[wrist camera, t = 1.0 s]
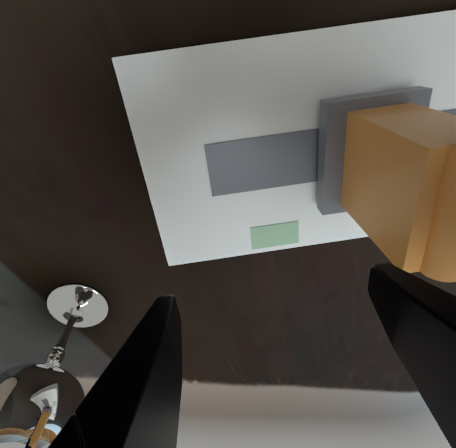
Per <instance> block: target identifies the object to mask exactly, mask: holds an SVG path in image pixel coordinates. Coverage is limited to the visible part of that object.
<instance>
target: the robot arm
mask: <svg viewBox="0 0 456 448" xmlns="http://www.w3.org/2000/svg"><path fill="white" fill-rule="evenodd" d="M368 292H369V296H370V298H371V300H372V302H373V305H374V307H375V309H376V311H377V314H378V316H379V318H380V320H381V322H382V325H383V327H384V329H385V331H386V334H387V336H388V338H389V340H390V342H391V344H392V346H393V348H394V350H395V352H396V353H397V355H398V357H399V359H400V360H401V362H402V364H403V365H404V367H405V369H406V371H407V372H408V374H409V376H410V377H411V379H412V381H413V383H414V384H415V386H416V388H417V389H418V391H419V393H420V394H421V396H422V398H423V400H424V401H425V403H426V405H427V406H428V408H429V410H430V411H431V413H432V415H433V417H434V418H435V420H436V422H437V423H438V425H439V427H440V429H441V430H442V432H443V433H444V435H445V437H446V439H447V440H448V442H449V444H450V446H451V447H452V448H456V296H455V295H453V294H451V293H449V292H447V291H445V290H443V289H441V288H439V287H437V286H435V285H433V284H431V283H428V282H426V281H424V280H422V279H420V278H418V277H416V276H414V275H412V274H410V273H408V272H406V271H404V270H402V269H400V268H398V267H396V266H394V265H392V264H390V263H380V264H374V265H373V266H372V267H371V270H370V277H369V284H368ZM181 389H182V339H181V318H180V314H179V310H178V307H177V303H176V299H175V297H174V296H173V295H165V296H160V297H158V298H157V299H156V301H155V302H154V303H153V305H152V306H151V307H150V309H149V310H148V311H147V313H146V314H145V316H144V317H143V318H142V320H141V321H140V322H139V324H138V325H137V327H136V328H135V329H134V331H133V332H132V333H131V335H130V336H129V338H128V339H127V340H126V342H125V343H124V344H123V346H122V347H121V349H120V350H119V351H118V353H117V354H116V355H115V357H114V358H113V359H112V361H111V362H110V364H109V365H108V366H107V368H106V369H105V370H104V372H103V373H102V375H101V376H100V377H99V379H98V380H97V381H96V383H95V384H94V386H93V387H92V388H91V390H90V391H89V393H88V394H87V395H86V396H85V398H84V399H83V401H82V402H81V403H80V405H79V406H78V407H77V409H76V410H75V412H74V415H72V416H71V417H70V418H69V420H68V421H67V422H66V424H65V425H64V426H63V428H62V429H61V431H60V432H59V433H58V435H57V436H56V437H55V439H54V440H53V441H52V442H51V444H50V445H49V446H48V448H176V444H177V433H178V422H179V421H178V420H179V411H180V400H181Z"/></svg>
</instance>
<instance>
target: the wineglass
mask: <svg viewBox="0 0 456 448" xmlns="http://www.w3.org/2000/svg"><path fill="white" fill-rule="evenodd" d="M47 308H48V310H49V312H50V314H51V315H52V316H53V317H54V318H55V319H56V320H58V321H59V322H61V323H63V324H66V326H65V329H64V331H63V333H62V335H61V337H60V339H59V341H58V342H57V344H56V345H55V346H54V348H53V349H52V350H51V351H50V352H49V353H48V355H47V356H46V359H45V364H44V363H30V364H23V365H19V366H15V367H12V368H10V369H8V370H5V371H4V372H2V373H0V448H48V446H49V445H50V444H51V442H52V441H53V440H54V439H55V437H56V436H57V435H58V433H59V432H60V431H61V429H62V428H63V426H64V425H65V424H66V422H67V421H68V420H69V418H70V417H71V416H72V415H74V412H75V410H76V409H77V407H78V406H79V405H80V403H81V402H82V401H83V399H84V398H85V394H84V391H83V388H82V386H81V384H80V383H79V381H78V380H77V379H76V378H75V377H74V376H73V375H72V374H71V373H69V372H68V371H66V370H64V369H62V368H60V367H59V366H60V364H61V363H62V361H63V360H64V355H65V347H66V342H67V339H68V337H69V334H70V332H71V330H72V327H81V328H83V327H91V326H94V325H97V324H99V323H100V322H102V321H103V320H104V319H105V318H106V316H107V314H108V311H109V306H108V303H107V301H106V299H105V298H104V296H103V295H102V294H101V293H99V292H98V291H96V290H95V289H93V288H91V287H88V286H85V285H79V284H67V285H63V286H60V287H57V288H56V289H54V290H53V291H52V292H51V293H50V294H49V296H48V298H47Z"/></svg>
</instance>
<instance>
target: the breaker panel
mask: <svg viewBox="0 0 456 448" xmlns="http://www.w3.org/2000/svg"><path fill="white" fill-rule="evenodd" d="M112 61H113V65H114V69H115V72H116V76H117V79H118V83H119V87H120V90H121V94H122V98H123V101H124V105H125V109H126V112H127V116H128V120H129V123H130V127H131V130H132V134H133V138H134V141H135V145H136V149H137V152H138V156H139V160H140V163H141V167H142V171H143V174H144V178H145V181H146V185H147V189H148V192H149V196H150V200H151V203H152V207H153V211H154V214H155V218H156V222H157V225H158V229H159V232H160V236H161V240H162V243H163V247H164V251H165V254H166V258H167V262H168V265H169V266H173V265H179V264H186V263H193V262H200V261H206V260H213V259H220V258H227V257H233V256H240V255H247V254H253V253H260V252H267V251H274V250H280V249H287V248H294V247H301V246H307V245H314V244H321V243H328V242H334V241H341V240H348V239H354V238H361V237H368V235H367V234H366V233H365V232H364V231H363V229H362V228H361V227H360V226H359V225H358V224H357V223H356V222H355V220H354V219H353V218H352V217H351V216H350V215H349V214H348V213H347V212H342V213H335V214H328V215H322V214H321V212H320V211H319V210H318V208H317V182H318V149H319V115H320V100H323V99H330V98H337V97H344V96H351V95H359V94H366V93H373V92H380V91H387V90H394V89H401V88H408V87H415V86H423V87H428V88H433V90H432V95H431V100H430V104H429V108H431V109H435V110H438V111H442V112H445V113H449V114H452V115H456V10H449V11H442V12H435V13H428V14H421V15H413V16H406V17H399V18H392V19H385V20H378V21H370V22H363V23H356V24H349V25H342V26H334V27H327V28H320V29H313V30H306V31H298V32H291V33H284V34H277V35H270V36H262V37H255V38H248V39H241V40H234V41H226V42H219V43H212V44H205V45H198V46H191V47H183V48H176V49H169V50H162V51H155V52H147V53H140V54H133V55H126V56H119V57H113V58H112Z"/></svg>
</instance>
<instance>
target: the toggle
mask: <svg viewBox="0 0 456 448" xmlns="http://www.w3.org/2000/svg"><path fill="white" fill-rule="evenodd" d="M432 90H433V88H428V87H423V86H415V87H408V88H401V89H394V90H387V91H380V92H373V93H366V94H359V95H351V96H344V97H337V98H330V99H323V100H320V115H319V149H318V182H317V208H318V210H319V211H320V212H321V214H322V215H328V214H335V213H342V212H347V213H348V214H349V215H350V216H351V217H352V218H353V219H354V220H355V222H356V223H357V224H358V225H359V226H360V227H361V228H362V229H363V231H364V232H365V233H366V234H367V235H368V236H369V237H370V238H371V240H372V241H373V242H374V243H375V244H376V245H377V246H378V247H379V249H380V250H381V251H382V252H383V253H384V254H385V255H386V256H387V258H388V259H389V260H390V261H391V262H392V263H393V264H394V265H395V266H396V267H398V268H400V269H402V270H404V271H406V272H408V273H412V272H419V271H420V272H421V273H422V274H424V275H425V276H427V277H429V278H431V279H434V280H437V281H441V282H456V115H452V114H449V113H445V112H442V111H438V110H435V109H431V108H429V104H430V100H431V95H432Z"/></svg>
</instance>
